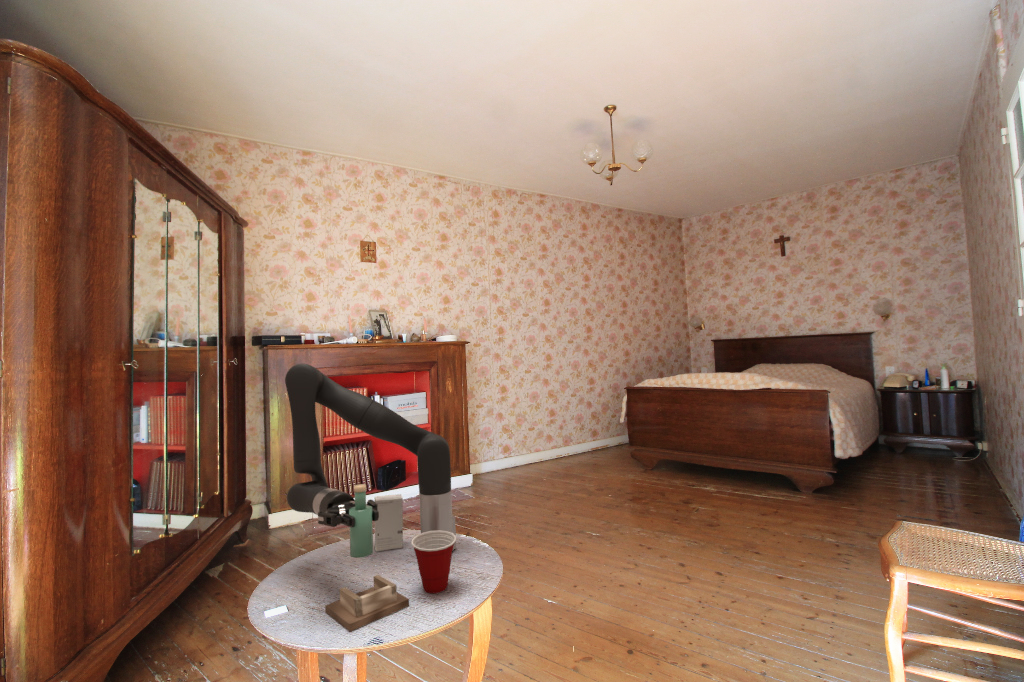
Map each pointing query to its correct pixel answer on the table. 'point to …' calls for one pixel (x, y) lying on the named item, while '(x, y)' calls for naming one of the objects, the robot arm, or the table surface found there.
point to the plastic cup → (434, 558)
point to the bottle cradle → (366, 604)
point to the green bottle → (361, 525)
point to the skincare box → (389, 522)
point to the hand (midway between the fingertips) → (365, 519)
